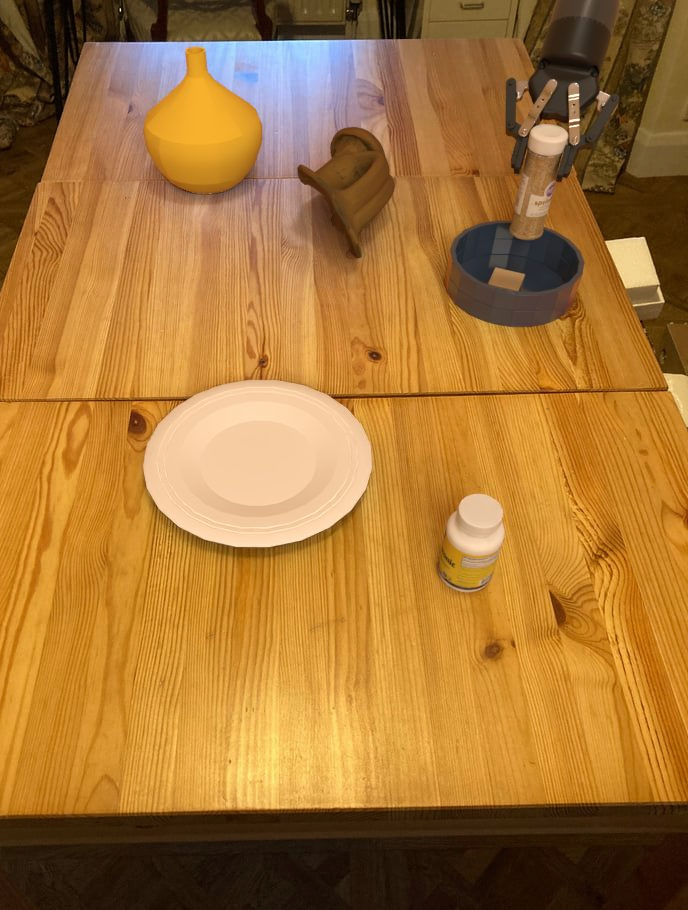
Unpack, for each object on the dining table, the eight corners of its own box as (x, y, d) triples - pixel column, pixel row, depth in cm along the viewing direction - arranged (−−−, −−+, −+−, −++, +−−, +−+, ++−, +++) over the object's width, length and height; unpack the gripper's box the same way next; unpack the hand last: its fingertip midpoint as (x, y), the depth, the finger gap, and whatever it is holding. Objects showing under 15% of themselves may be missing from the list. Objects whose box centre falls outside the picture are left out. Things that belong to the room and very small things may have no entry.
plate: (117, 543, 78) (113, 531, 77) (176, 381, 94) (174, 369, 93) (360, 570, 76) (362, 559, 75) (379, 400, 92) (380, 388, 90)
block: (489, 292, 105) (495, 267, 101) (518, 299, 104) (525, 274, 101) (482, 309, 102) (487, 283, 99) (511, 316, 101) (518, 290, 98)
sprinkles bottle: (536, 245, 101) (562, 144, 90) (503, 236, 102) (525, 135, 92) (547, 228, 103) (574, 127, 93) (515, 219, 105) (537, 119, 94)
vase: (136, 203, 120) (112, 71, 105) (169, 147, 131) (152, 22, 117) (250, 214, 118) (243, 82, 103) (274, 157, 129) (270, 30, 115)
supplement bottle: (434, 548, 78) (448, 485, 70) (488, 550, 78) (508, 487, 70) (438, 593, 75) (453, 532, 67) (494, 595, 75) (516, 534, 67)
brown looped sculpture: (235, 185, 109) (321, 104, 117) (269, 263, 118) (347, 182, 126) (336, 187, 98) (423, 96, 106) (365, 273, 107) (444, 183, 115)
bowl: (558, 255, 111) (568, 220, 107) (585, 331, 100) (597, 295, 96) (438, 254, 111) (444, 219, 107) (452, 330, 100) (459, 294, 96)
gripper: (520, 6, 90) (479, 154, 92) (646, 22, 87) (600, 175, 89) (520, 39, 97) (481, 176, 100) (636, 55, 94) (593, 196, 96)
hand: (537, 175), depth 94 cm, fingers closed on sprinkles bottle, 4 cm apart
